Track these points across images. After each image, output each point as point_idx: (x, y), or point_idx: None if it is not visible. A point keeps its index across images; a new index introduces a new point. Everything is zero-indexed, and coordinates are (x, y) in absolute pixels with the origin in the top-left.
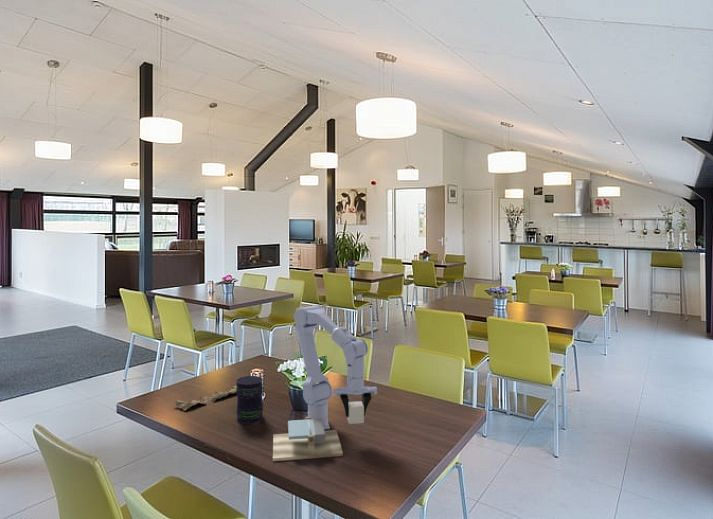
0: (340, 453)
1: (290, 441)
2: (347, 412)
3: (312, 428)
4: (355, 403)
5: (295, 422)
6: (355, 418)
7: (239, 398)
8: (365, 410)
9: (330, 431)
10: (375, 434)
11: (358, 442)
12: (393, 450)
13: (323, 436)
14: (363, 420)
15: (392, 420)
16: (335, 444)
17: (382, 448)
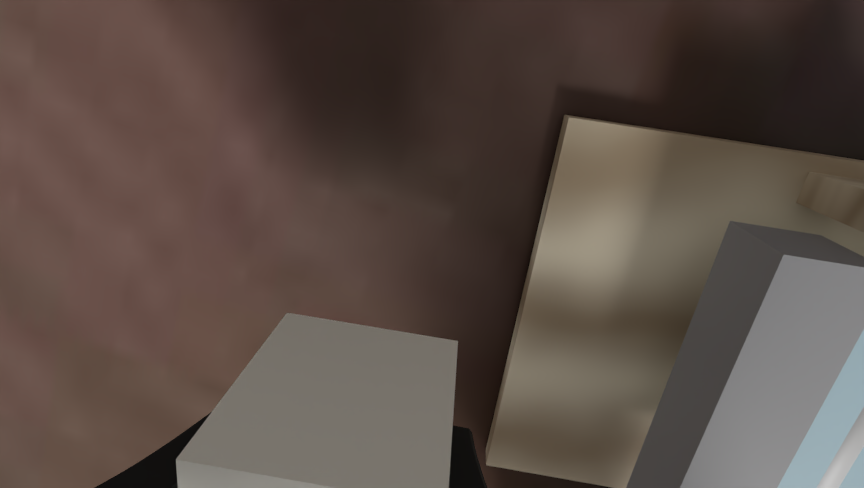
0: (589, 119)
1: None
2: (462, 468)
3: (839, 416)
4: None
5: None
6: (372, 364)
7: None
8: (193, 431)
9: (533, 460)
10: (232, 349)
11: (378, 281)
12: (147, 76)
13: (784, 246)
14: (281, 329)
15: (88, 478)
16: (573, 272)
17: (225, 136)
